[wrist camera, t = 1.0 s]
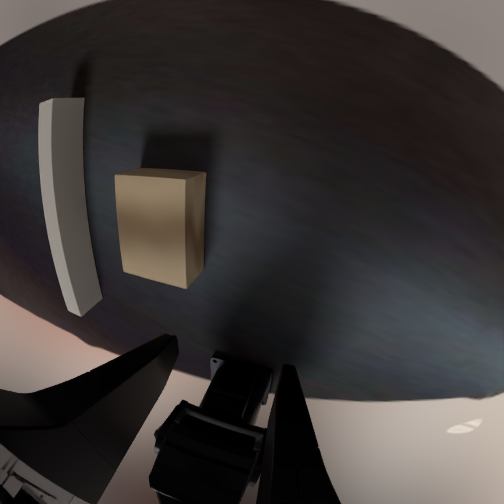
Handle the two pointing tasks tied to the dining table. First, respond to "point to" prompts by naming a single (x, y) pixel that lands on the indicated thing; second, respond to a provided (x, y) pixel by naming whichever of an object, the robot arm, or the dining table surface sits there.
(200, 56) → the dining table surface
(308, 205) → the dining table surface
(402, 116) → the dining table surface
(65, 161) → the fence bar
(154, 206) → the maple block
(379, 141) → the dining table surface
